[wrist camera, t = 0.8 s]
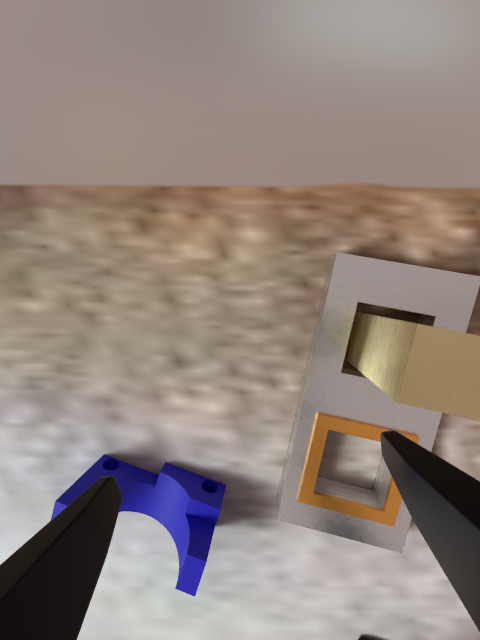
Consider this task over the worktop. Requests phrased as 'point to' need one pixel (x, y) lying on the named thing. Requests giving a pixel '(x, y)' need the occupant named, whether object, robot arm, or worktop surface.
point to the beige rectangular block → (419, 363)
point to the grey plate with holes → (362, 397)
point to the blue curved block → (163, 507)
